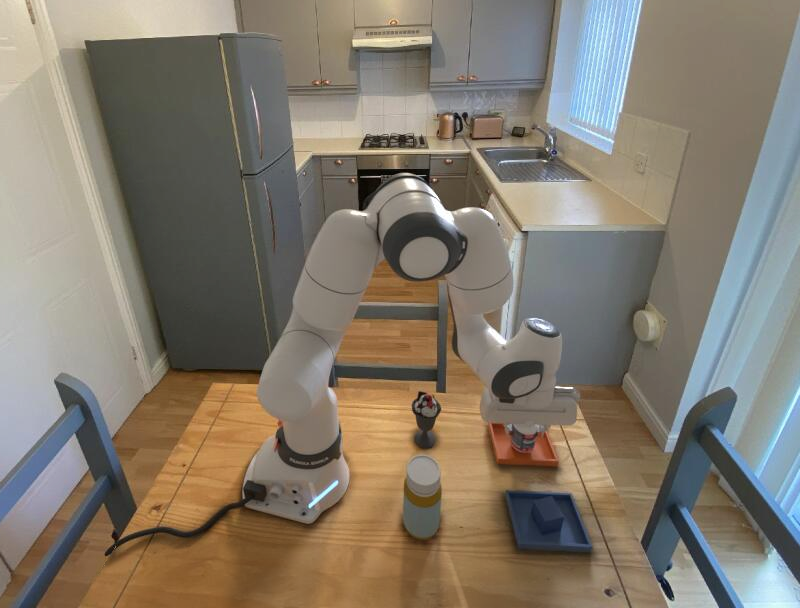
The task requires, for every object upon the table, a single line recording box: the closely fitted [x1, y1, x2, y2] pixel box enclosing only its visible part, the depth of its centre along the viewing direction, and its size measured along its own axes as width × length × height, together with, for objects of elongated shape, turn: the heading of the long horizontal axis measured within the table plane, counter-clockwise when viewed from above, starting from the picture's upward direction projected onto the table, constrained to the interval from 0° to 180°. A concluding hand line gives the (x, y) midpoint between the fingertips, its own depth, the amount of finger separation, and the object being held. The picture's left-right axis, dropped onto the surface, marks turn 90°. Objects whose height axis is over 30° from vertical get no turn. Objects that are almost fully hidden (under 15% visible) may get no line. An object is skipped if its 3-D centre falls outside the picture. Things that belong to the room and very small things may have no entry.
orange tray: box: [487, 423, 560, 467], centre depth 96 cm, size 13×10×2 cm
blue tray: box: [504, 489, 593, 554], centre depth 81 cm, size 13×10×2 cm
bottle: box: [402, 453, 443, 541], centre depth 79 cm, size 7×7×15 cm
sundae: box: [411, 390, 442, 449], centre depth 96 cm, size 7×7×15 cm
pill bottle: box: [510, 422, 538, 453], centre depth 94 cm, size 5×5×9 cm
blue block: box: [531, 496, 564, 535], centre depth 80 cm, size 4×4×4 cm
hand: (523, 433), depth 95 cm, fingers closed on pill bottle, 5 cm apart
